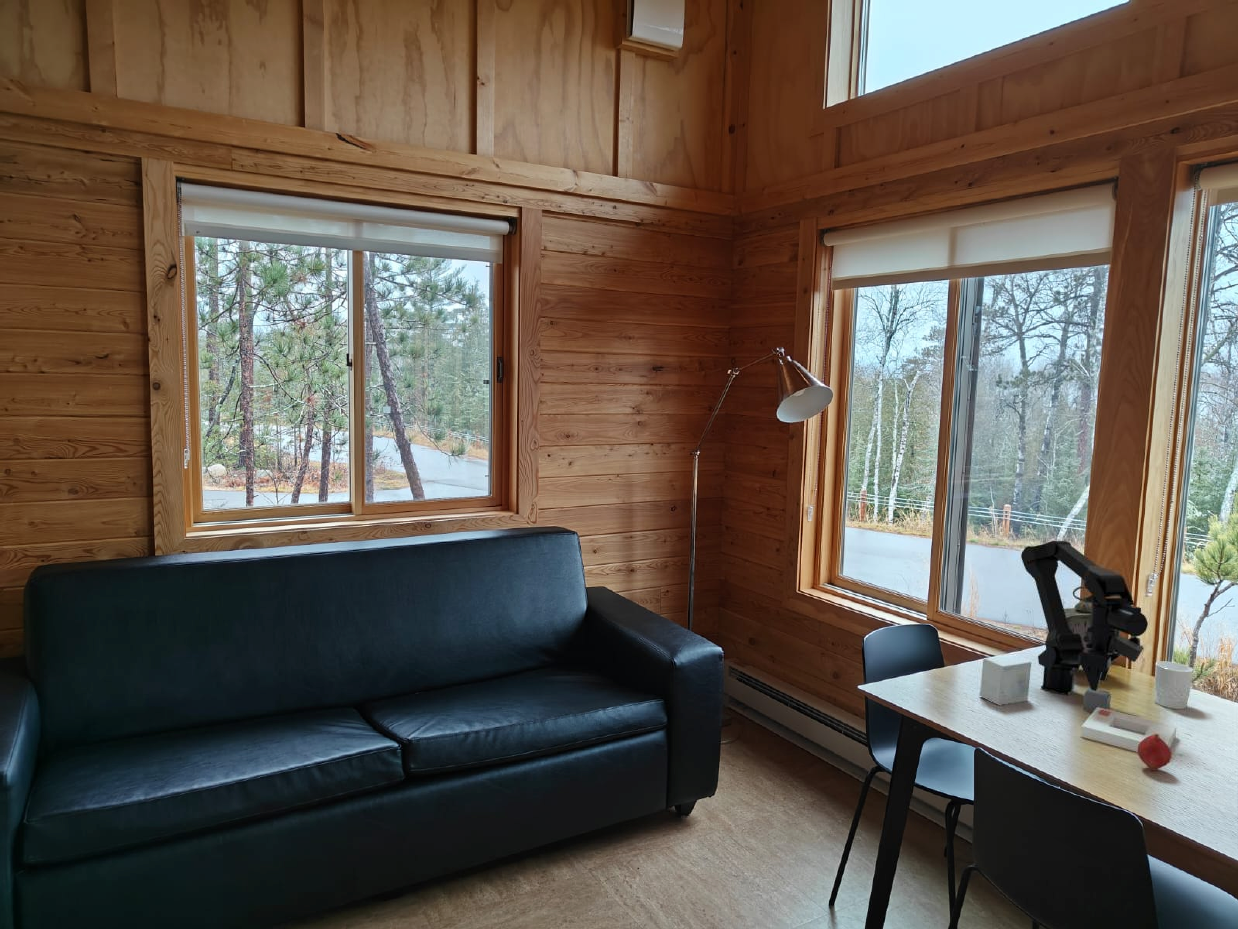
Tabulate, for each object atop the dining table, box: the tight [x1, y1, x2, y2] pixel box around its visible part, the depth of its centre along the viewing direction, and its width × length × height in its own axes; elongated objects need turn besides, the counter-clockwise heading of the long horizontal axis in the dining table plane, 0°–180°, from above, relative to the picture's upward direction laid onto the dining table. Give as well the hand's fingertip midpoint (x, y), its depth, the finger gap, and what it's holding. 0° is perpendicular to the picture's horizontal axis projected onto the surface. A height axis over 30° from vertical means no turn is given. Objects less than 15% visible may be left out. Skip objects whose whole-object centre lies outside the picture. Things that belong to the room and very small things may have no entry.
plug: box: [1082, 686, 1112, 713], centre depth 201 cm, size 5×4×5 cm
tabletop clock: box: [1064, 585, 1117, 671], centre depth 229 cm, size 14×9×25 cm, turn 82°
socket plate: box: [1080, 707, 1177, 753], centre depth 186 cm, size 16×16×3 cm
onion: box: [1137, 733, 1172, 771], centre depth 169 cm, size 6×6×8 cm
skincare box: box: [979, 654, 1032, 706], centre depth 207 cm, size 10×6×10 cm, turn 114°
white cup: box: [1154, 660, 1194, 710], centre depth 207 cm, size 8×8×10 cm
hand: (1098, 685), depth 201 cm, fingers open, 9 cm apart
